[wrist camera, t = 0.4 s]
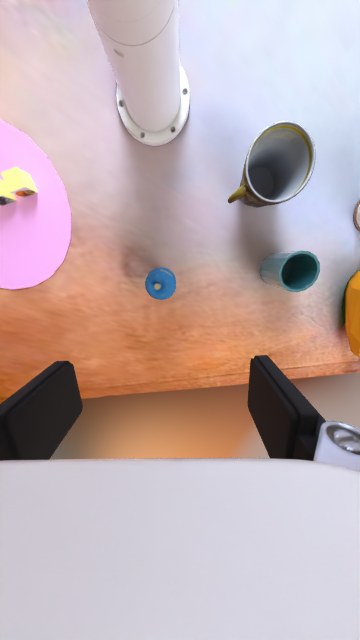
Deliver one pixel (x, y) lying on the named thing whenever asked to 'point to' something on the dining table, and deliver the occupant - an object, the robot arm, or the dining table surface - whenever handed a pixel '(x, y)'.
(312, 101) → the dining table surface
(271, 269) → the teal cup
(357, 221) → the cup stack
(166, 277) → the ornament
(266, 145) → the ceramic cup
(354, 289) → the corn
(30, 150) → the platter
